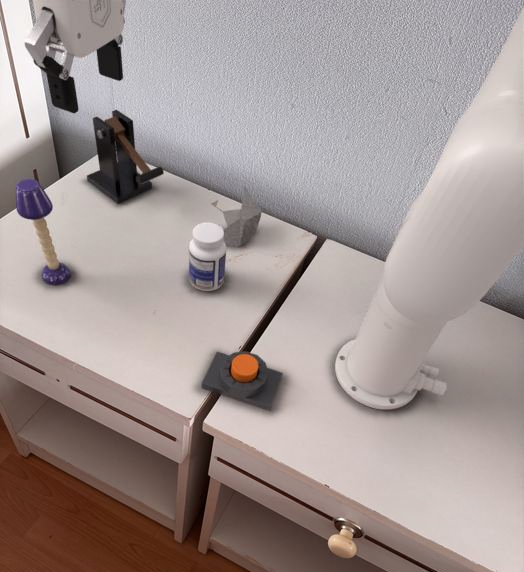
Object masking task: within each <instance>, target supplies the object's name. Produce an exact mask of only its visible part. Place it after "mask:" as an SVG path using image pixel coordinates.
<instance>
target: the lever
mask: <svg viewBox="0 0 524 572" xmlns="http://www.w3.org/2000/svg"><path fill="white" fill-rule="evenodd" d="M104 121H105V122H106V123H107V124H109V125H110V126H112V127H113V128H114V136H115V141H118V142H119V143H120V144H121V146H122V147H123V148H124V150H125V151H126V152H127V153H128V155H129V156H130V157H131V159H132V160H133V161H134V162H135V164H136V165H137V169H139V170H140V172H141V173H140V175H139V176H137V177H136V181H137V183H138V184H139V185H141V184H143V183H146V182H148V181H150V182H151V181H152V180H155V179H156V178H158V177H161V176H163V175H164V172H165V171H164V169H163V167H162V166H157V167H154V168H153V169H151V168H150V167H149V166H148V164H147V163H146V162H145V161H144V159H143V158H142V157H141V155H140V154H139V153H138V151H137V150H136V148H135V149H134V148H133V146H132V145H131V144H130V143H129V141H128V140H127V139H126V137H125V136H124V132H125V128H124V127H123V126H122V124H121V123H120V122H119V120H118V119H117V118H116V117H113V116H112V117H109V118H107V119H105V120H104Z"/></svg>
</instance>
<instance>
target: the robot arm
mask: <svg viewBox="0 0 524 572" xmlns="http://www.w3.org/2000/svg"><path fill="white" fill-rule="evenodd" d="M32 3H33V4H32V5H33V9H34V16H35V23H34V25H33V26H32V28H31V30H30V31H29V33H28V34H27V36H26V38H25V40H24V47H25V49H26V50H27V52H28V54H29V55H30V57H31V58H32V61H33V63H34V64H33V65H35V66H37V67H38V68H39V69H40V71H41V72H42V73H43V74H46V79H47V85H48V90H49V96H50V101H51V105H52V106H53V107H54V108H57V109H60V110H63V111H65V112H69V113H72V114H76V113H78V112H79V102H78V95H77V89H76V82H75V77H73V76H70V74H71V71H72V67H73V62H74V59H75V57H76V58H78V59H82V58H85V57H87V56H89V55H91V54H92V53H94V52H95V51H96V59H97V68H98V74H99V75H101V76H103V77H106V78H109V79H112V80H115V81H116V82H117V81H119V82H121V81H122V80H123V79H124V70H123V59H122V57H123V56H122V45H123V43H124V36H123V34H122V33H123V31H124V29H125V24H126V23H125V22H126V21H125V16H124V15H125V10H126V3H127V0H32ZM57 53H60V54H62V56H61V59H60V63H59V62H58V61H57V60H56V59H55V58H56V54H57ZM455 124H456V125H454V128H453V129H452V131H451V133H450V135H449V138H448V139H447V141H446V144H445V146H444V149H443V151H442V153H441V155H440V157H439V159H438V161H437V163H436V166H435V167H434V168H433V171H432V173H431V176H430V178H429V179H428V181H427V183H426V185H425V187H424V189H423V190H422V192H421V193H419V194H418V195H417V197H416V198H415V200H413V202H412V204H410V205H411V206H410V208H409V209H408V212H407V213H406V216H405V217H404V220H403V222H402V224H401V226H400V228H399V230H398V232H397V235H396V238H395V240H394V242H393V243H392V245H391V248H390V250H389V252H388V255H387V256H386V259H385V262H384V265H383V268H382V276H381V278H380V281H379V283H378V284H377V287H376V290H375V291H374V294H373V297H372V299H371V302H370V304H369V307H368V309H367V311H366V314H365V316H364V319H363V320H362V324H361V325H360V328H359V331H358V333H357V335H356V338H353V339H351V340H349V341H348V342H346V343H345V344H344V345H342V347H341V348H340V349H339V351H338V354H337V355H336V358H335V363H334V370H335V376H336V379H337V381H338V383H339V384H340V385H339V386H341V388H342V389H343V390H344V391H345V393H346V394H347V395H349V396H350V397H351V398H352V399H353V400H354V401H356V402H358V403H360V404H361V405H363V406H367V407H369V408H373V409H377V410H395V409H399V408H402V407H404V406H405V405H407V404H409V403H410V402H411V401H412V400H414V398H415V396H416V395H417V393H418V391H421V390H426V391H428V392H429V393H431V394H435V395H439V396H441V397H442V396H444V395H445V394H446V391H447V387H448V383H447V382H445V381H441V380H439V379H436V378H438V377H439V374H440V368H438V367H434V366H431V365H426V364H425V362H424V360H425V358H426V357H427V356H428V354H429V352H430V350H431V349H432V347H433V346H434V344H435V343H436V341H437V339H438V337H439V336H440V334H441V333H442V332H443V330H444V328H445V326H446V325H447V323H448V322H450V321H453V320H456V319H457V318H460V317H462V316H463V315H465V314H466V313H468V312H469V311H471V310H472V309H473V308H475V306H477V304H479V302H480V301H481V300H482V299H483V297H485V295H486V294H487V293H488V291H489V290H490V289H491V288H492V287H493V285H495V283H496V282H497V281H498V279H499V278H500V277H501V276H502V275H503V274H504V272H505V271H506V270H507V268H508V267H509V266H510V265H511V263H512V262H513V261H514V260H515V259H516V257H517V256H518V255H519V254H520V252H522V251H523V249H524V6H523V7H522V8H521V11H520V13H519V15H518V17H517V19H516V20H515V22H514V24H513V26H512V29H511V30H510V32H509V34H508V37H507V39H506V42H504V45H503V47H502V48H501V51H500V53H499V54H498V56H497V58H496V60H495V61H494V63H493V66H492V67H491V69H490V70H489V73H488V74H487V76H486V78H485V80H484V81H483V83H482V85H481V87H479V90H478V91H477V93H476V95H475V96H474V98H473V100H472V101H471V102H470V104H469V105H468V107H467V109H466V110H465V111H464V113H463V114H462V115H461V117H460V118H459V120H458V121H457V123H455ZM426 375H427V376H429V377H427V376H426ZM430 377H432V378H430ZM433 378H434V379H433Z"/></svg>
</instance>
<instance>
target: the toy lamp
mask: <svg viewBox="0 0 524 572" xmlns="http://www.w3.org/2000/svg"><path fill="white" fill-rule="evenodd" d="M53 207H54V205H53V202H52V200H51V199H50V197H49V196H48V194H47V192H46V191H45V189H44V187H43V186H42V185H41V183H40V182H39V181H38V180H36V179H33V178H23V179H22V180H19V181H18V182H17V184H16V185H15V208H16V212H17V214H18V215H19V216H20V217H21V218H23V219H26V220H31V221H32V224H33V227H34V228H35V234H36V236H37V237H38V243H39V244H40V249H41V251H42V253H43V257H44V259H45V260H46V265H45V266H44V267H43V269H42V271H41V278H42V281H43V282H44V283H45V284H47V285H52V286H58V285H62V284H64V283H67V282H68V280H69V279H70V278H71V271H70V269H69V267H68V266H67V265H66V264H65V263H63V262H60V261H59V259H58V255H57V253H56V251H55V250H56V248H55V245H54V244H53V239H52V237H51V235H50V229H49V227H48V224H47V220H46V219H45V218H46V217H48V216H50V214H51V213H52V211H53V209H54V208H53Z"/></svg>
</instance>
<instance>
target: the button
mask: <svg viewBox="0 0 524 572" xmlns="http://www.w3.org/2000/svg"><path fill="white" fill-rule="evenodd" d="M257 372H258V362H257V360H256V359H255V358H254V357H253V356H251V355H247V354H241V355H238V356H236V357H235V358H234V359H233V361H232V366H231V374H232V376H233V378H234V379H235V380H237V381H239V382H242V383H248V382H251V381H253V380H254V379H255V378H256V376H257Z"/></svg>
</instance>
